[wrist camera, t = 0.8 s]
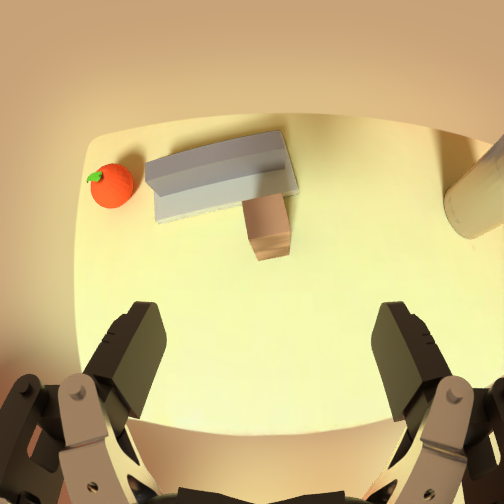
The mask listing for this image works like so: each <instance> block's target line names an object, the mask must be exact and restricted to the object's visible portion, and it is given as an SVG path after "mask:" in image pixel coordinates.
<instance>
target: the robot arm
mask: <svg viewBox="0 0 504 504" xmlns="http://www.w3.org/2000/svg"><path fill="white" fill-rule="evenodd" d="M444 206H445V212H446V215H447V218H448V220H449V222H450V224H451V225H452V227H453V228H454V229H455V231H456V232H457V233H458V234H460V235H461V236H463V237H464V238H467V239H474V238H477V237H479V236H481V235H483V234H485V233H487V232H488V231H491V230H492V229H494V228H496V227H498V226H500V225H502V224H504V135H503V136H502V137H501V138H500V139H499V140H498V141H497V142H496V143H495V144H494V145H493V146H492V147H491V148H490V150H489V151H488V152H487V153H486V154H485V155H484V156H483V157H482V158H481V159H480V160H479V161H478V162H476V163H475V164H474V165H473V166H472V167H471V168H470V169H469V170H468V171H467V172H466V173H465V174H464V175H463V176H462V177H461V178H460V179H459V180H457V181H456V182H455V183H454V184H453V185H452V186H451V187H450V188H449V189H448V190H447V192H446V194H445V198H444ZM166 343H167V337H166V332H165V329H164V326H163V322H162V319H161V316H160V312H159V309H158V306H157V304H156V303H154V302H140V301H136V302H134V303H133V305H132V307H131V308H130V310H129V311H128V313H127V314H122V315H121V316H120V317H119V318H118V319H116V320H115V321H114V322H113V323H112V325H111V326H110V328H109V329H108V331H107V334H105V336H104V338H103V339H102V343H101V342H100V344H99V346H98V347H97V349H96V351H95V352H94V354H93V356H92V358H91V359H90V361H89V363H88V364H87V366H86V368H85V370H84V371H83V373H82V374H81V373H79V374H73V375H71V376H69V377H67V378H66V379H65V380H64V381H63V382H62V384H61V385H43V384H42V382H41V381H40V380H39V379H38V377H37V376H35V375H33V374H26V375H23V376H21V377H20V378H19V379H18V380H17V381H16V382H15V383H14V385H13V387H12V389H11V390H10V392H9V394H8V396H7V398H6V400H5V401H4V403H3V405H2V407H1V409H0V504H57V502H58V499H59V495H60V491H61V488H62V484H63V480H65V483H66V487H67V490H68V493H69V496H70V499H71V502H72V504H253V503H249V502H246V501H242V500H238V499H235V498H231V497H228V496H225V495H222V494H219V493H213V492H205V491H198V490H192V489H187V488H181V487H179V489H178V493H172V494H164V495H163V494H162V492H161V490H160V488H159V486H158V485H157V483H156V482H155V480H154V479H153V478H152V476H151V475H150V474H149V472H148V471H147V469H146V468H145V466H144V464H143V462H142V460H141V457H140V455H139V453H138V451H137V448H136V446H135V444H134V442H133V439H132V437H131V434H130V431H129V429H128V427H127V425H126V421H127V419H128V416H129V417H133V418H137V419H140V416H141V413H142V410H143V408H144V405H145V402H146V399H147V396H148V394H149V391H150V388H151V386H152V383H153V380H154V377H155V375H156V372H157V369H158V367H159V364H160V362H161V359H162V356H163V354H164V351H165V348H166ZM371 346H372V351H373V354H374V357H375V360H376V363H377V366H378V369H379V372H380V375H381V378H382V382H383V385H384V388H385V391H386V395H387V398H388V402H389V405H390V409H391V412H392V416H393V419H394V422H397V421H401V420H405V421H406V424H407V426H406V427H405V429H404V431H403V433H402V435H401V437H400V439H399V442H398V443H397V446H396V447H395V449H394V451H393V453H392V455H391V457H390V459H389V461H388V463H387V464H386V466H385V468H384V470H383V471H382V473H381V474H380V476H379V477H378V478H377V479H376V480H375V481H374V483H373V484H372V485H371V487H370V488H369V489H368V491H367V492H366V494H365V495H364V497H363V498H362V499H358V498H353V497H345V493H344V491H338V492H330V493H321V494H311V495H302V496H299V497H295V498H291V499H287V500H284V501H279V502H274V503H269V504H452V503H453V501H454V498H455V496H456V493H457V491H458V488H459V486H460V483H461V481H462V487H463V493H464V501H465V504H504V378H499V379H498V380H496V381H495V383H494V384H493V385H492V387H491V388H472V387H471V385H470V384H469V383H468V382H467V381H466V380H465V379H463V378H461V377H459V376H453V375H452V373H451V371H450V369H449V367H448V365H447V363H446V361H445V359H444V357H443V355H442V354H441V352H440V350H439V348H438V346H437V344H435V340H434V339H433V337H432V335H430V332H429V330H428V328H427V326H426V325H425V323H424V322H423V321H422V320H421V319H420V318H419V317H417V316H416V315H415V314H410V312H409V311H408V309H407V307H406V305H405V304H404V303H403V302H402V301H398V302H384V303H382V304H381V306H380V309H379V313H378V316H377V319H376V323H375V326H374V329H373V332H372V337H371ZM36 425H38V426H39V427H40V428H41V429H42V431H41V433H40V436H39V439H38V441H37V443H36V446H35V449H34V451H33V454H32V456H31V457H30V458H29V456H28V454H27V447H28V444H29V442H30V439H31V437H32V435H33V432H34V430H35V428H36ZM493 431H494V434H495V437H496V440H497V444H498V447H499V451H500V455H501V460H500V463H499V465H497V463H496V460H495V456H494V452H493V448H492V445H491V442H490V438H489V435H490V434H491V433H492V432H493Z"/></svg>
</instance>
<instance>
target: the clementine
mask: <svg viewBox="0 0 504 504" xmlns="http://www.w3.org/2000/svg"><path fill="white" fill-rule="evenodd" d="M88 181H91V193H92V196H93V198H94V200H95V201H96V202H97V203H98V204H99V205H100V206H102V207H105V208H117V207H120V206H121V205H123V204H124V203H125V202H126V201H127V200H128V199H129V198H130V196H131V194H132V191H133V178H132V176H131V174H130V172H129V171H128V170H127V168H125V167H124V166H122V165H120V164H113V163H112V164H108V165H105V166H102V167H101V168H100V169H99V170H98V171H97V172H95V173H92V174H91V175H90V176H89V177H88V178H87V183H88Z"/></svg>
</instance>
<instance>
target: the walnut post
mask: <svg viewBox="0 0 504 504" xmlns="http://www.w3.org/2000/svg"><path fill="white" fill-rule="evenodd" d="M242 206H243V212H244V217H245V223H246V228H247V234H248V239H249V242H250V244H251V246H252V248H253V251H254V253H255V255H256V257H257V259H258V261H260V260H265V259H271V258H276V257H281V256H286V255H289V249H290V237H291V229H290V225H289V221H288V216H287V212H286V208H285V204H284V199H283V195H282V193H279V194H274V195H269V196H264V197H259V198H254V199H249V200H244V201H242Z"/></svg>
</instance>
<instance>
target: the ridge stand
mask: <svg viewBox="0 0 504 504" xmlns="http://www.w3.org/2000/svg"><path fill="white" fill-rule="evenodd" d="M145 182H146V183H147V184H148V185H149V186H150V187H151V188H152V189H153V190H154V204H155V221H156V222H157V223H158V224H163V223H167V222H171V221H175V220H179V219H184V218H188V217H192V216H196V215H201V214H205V213H209V212H214V211H218V210H223V209H227V208H232V207H236V206H241V205H242V201H244V200H249V199H254V198H259V197H264V196H269V195H274V194H279V193H282V195H283V197H286V196H291V195H297V194H298V186H297V183H296V179H295V175H294V172H293V168H292V165H291V161H290V158H289V155H288V151H287V148H286V145H285V141H284V138H283V135H282V132H280V131H279V130H276V131H270V132H265V133H259V134H254V135H249V136H244V137H240V138H235V139H231V140H226V141H222V142H218V143H213V144H209V145H205V146H202V147H198V148H194V149H190V150H187V151H183V152H180V153H176V154H173V155H169V156H166V157H163V158H160V159H156V160H153V161H150V162H147V163H145Z"/></svg>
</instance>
